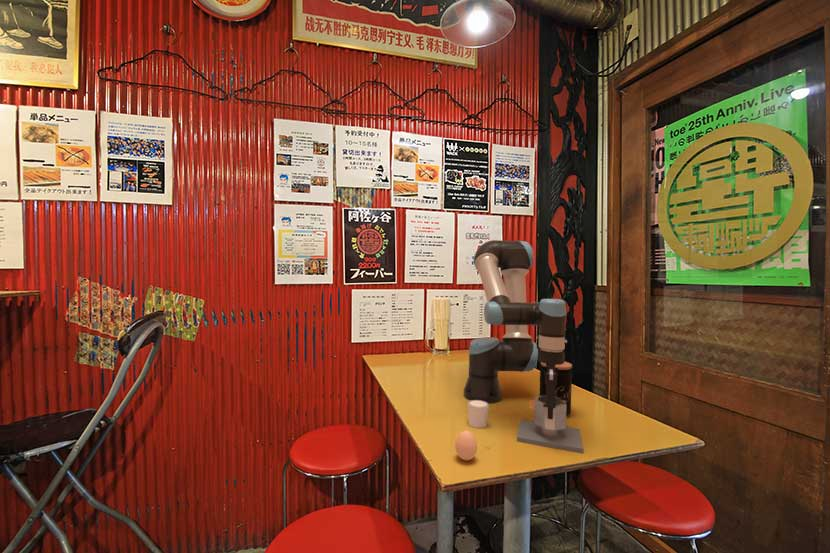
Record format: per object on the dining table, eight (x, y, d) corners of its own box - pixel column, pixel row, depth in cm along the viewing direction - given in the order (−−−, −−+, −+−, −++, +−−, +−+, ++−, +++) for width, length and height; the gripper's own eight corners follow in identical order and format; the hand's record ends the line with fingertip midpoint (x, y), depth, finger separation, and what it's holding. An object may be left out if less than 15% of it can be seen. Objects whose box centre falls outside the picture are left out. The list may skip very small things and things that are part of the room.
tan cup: (465, 420, 120) (465, 399, 120) (485, 419, 121) (485, 399, 121) (470, 429, 113) (470, 407, 113) (491, 428, 114) (491, 407, 114)
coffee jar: (556, 421, 121) (557, 368, 121) (532, 409, 131) (534, 361, 130) (577, 415, 126) (578, 365, 126) (553, 405, 136) (554, 358, 135)
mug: (528, 425, 107) (529, 402, 107) (529, 414, 115) (530, 393, 115) (566, 431, 103) (566, 407, 103) (564, 420, 112) (565, 397, 112)
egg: (452, 462, 94) (453, 433, 93) (457, 452, 99) (458, 425, 99) (474, 467, 91) (475, 437, 91) (478, 456, 97) (479, 428, 97)
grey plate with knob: (516, 441, 106) (517, 413, 106) (520, 422, 119) (520, 398, 119) (583, 453, 100) (584, 424, 100) (579, 432, 113) (579, 406, 113)
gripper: (566, 358, 97) (564, 440, 98) (563, 344, 118) (561, 411, 118) (537, 355, 100) (535, 435, 100) (539, 342, 120) (537, 408, 121)
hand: (549, 422), depth 109 cm, fingers closed on mug, 9 cm apart
